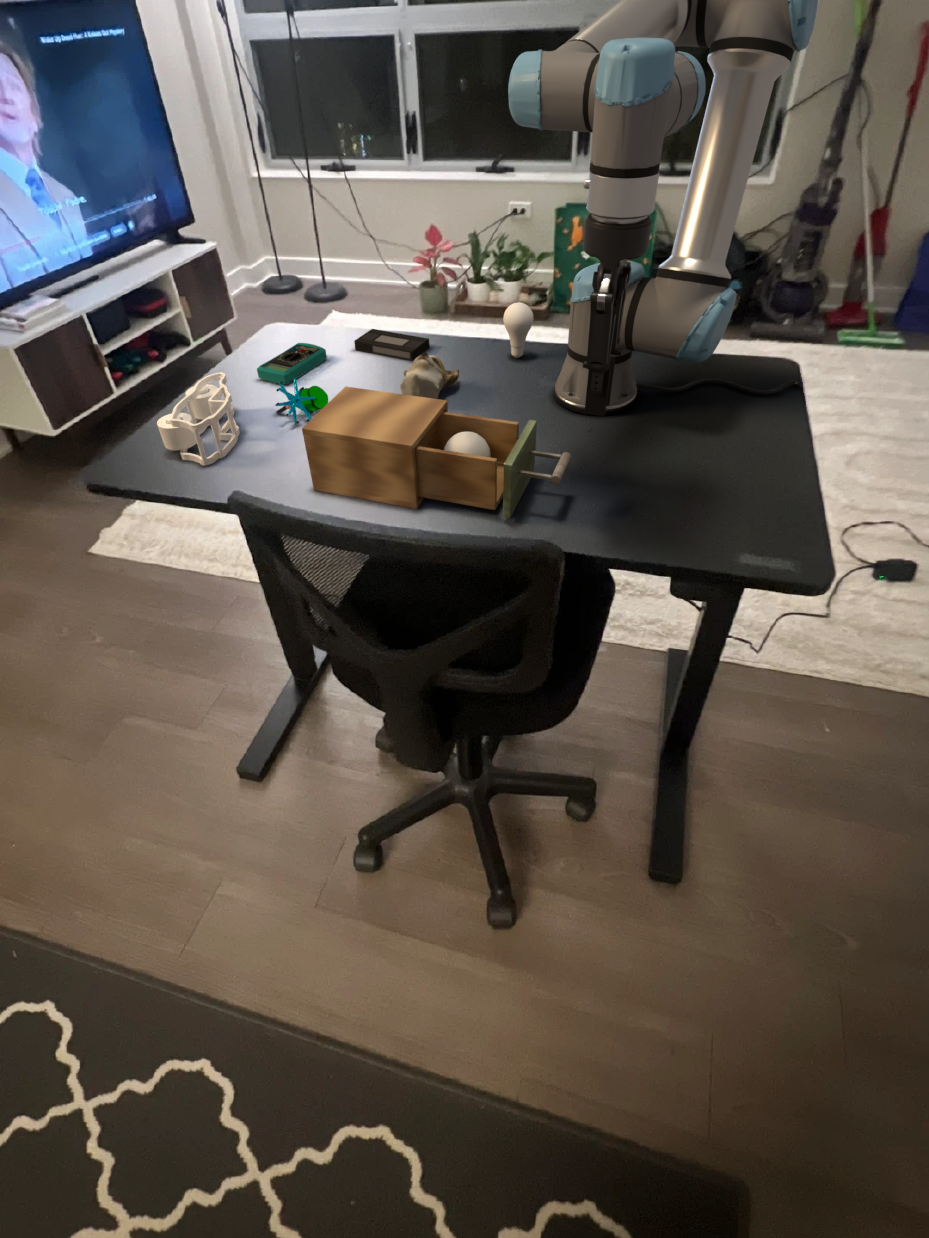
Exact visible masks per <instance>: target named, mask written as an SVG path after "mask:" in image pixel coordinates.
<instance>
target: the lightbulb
mask: <svg viewBox="0 0 929 1238" xmlns="http://www.w3.org/2000/svg"><path fill="white" fill-rule="evenodd" d="M502 322H503V325H504V328H505V330H506V332H507V334H508V337H509V345H510V354H511V356H512V357H514V358H516V359H519V358H520V357H522V356H523V355H524V352H525V345H526V340H527V336H528V334H529V332H530V331H531V328H532V326H533V325H534V313H533V310H532V309H531V307H530V306H529V305H528V304H526V303H524V302H519V301H518V302H514V303H511V304H510V305H509V306H508V307H507V308H506V309H505V311H504V313H503V317H502Z"/></svg>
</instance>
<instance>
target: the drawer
mask: <svg viewBox="0 0 929 1238" xmlns="http://www.w3.org/2000/svg"><path fill="white" fill-rule="evenodd" d="M537 426H538V420H534V419H529V420H528V421H527V423H526V425H525V426H524V428H523V430H522V432H521V434H520V435H519V433H520V421H513V420H508V419H507V420H506V419H499V418H493V417H492V418H491V417H487V416H486V417H485V416H478V415H470V414H463V413H457V412H450V411H448V412H444V411H443V412H442V414H441V415H440V416H439V417H438V419H437V420H436V421H435V423H434V424H433V425H432V426H431V428H430V429H429V430H428V432H427V433H426V434H425V436H424V437H423V438H422V439H421V441H420V442H419V443H418V445H417V446H416V447H415V448H414V449H415V461H416V474H417V487H418V496H419V497H424V499H430V500H436V501H441V502H449V503H452V504H458V505H459V504H460V505H464V506H470V507H475V508H481V509H485V510H486V509H487V510H494V511H495V510H497V507H498V506H499V504H500V502H501V501H502V517H503V518H508V519H511V517H512V516H513V514H514V511H516V508H517V506H518V504H519V502H520V500H521V498H522V496H523V494H524V492H525V491H526V488H527V486H528V485H529V483H530V481H531V479H540V480H546V481H550V483H551V484H553V485H554V486H555V485H556V486H557V485H559V484H560V483H561V482H562V479H563V478H564V475H565V473H566V470H567V469H568V467H569V463H570V462H571V460H572V454H571V453H570V452H568V451H564V452H563V453H561V454H560V453H555V452H554V453H553V452H546V451H541V450H536V446H537V445H536V444H537V428H538V427H537ZM460 432H474V433H477V434H478V435H480V436H481V437H482V438H484V439H485V441H486V442H487V444H488V446H489V448H490V453H491V458H490V457H484V456H477V455H471V454H465V453H458V452H452V451H446V450H444V448H445V446H446V444H447V442H448V440H449V439H450V438H451V437H453V436H454V435H455V434H457V433H460ZM536 457H539V458H547V459H553V460H558V461H557V464H556V466H555V468H554V469H553V472H552V474H548V473H542V472H536V471H535V466H536V465H535V464H536ZM497 462H501V463H497Z"/></svg>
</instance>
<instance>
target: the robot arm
mask: <svg viewBox="0 0 929 1238" xmlns="http://www.w3.org/2000/svg"><path fill="white" fill-rule="evenodd" d="M818 5H819V0H618V1H617V2H615V3H614V4H612V5H611V6H610V7H609V8H608V9H607V10H605V11H604V12H602V14H600V15H599V16H598V17H596V18H595V19H594V20H593V21H591V22H590V23H589V24H587V25H586V26H585V27H584V28H582V29H580V30H579V32H577V33H576V34H574V35H573V36H572V37H571V38H569V39H568V40H567V41H565V42H564V43H563V44H561V46H559V47H558V48H556V49H554V50H549V51H548V50H544V49H538V50H533V51H524V52H522V53H520V54H519V55H518V56H517V57H516V59H515V61H514V63H513V65H512V68H511V70H510V74H509V79H508V88H507V93H508V108H509V112H510V115H511V117H512V119H513V121H514V122H515V123H516V124H517V125H518V126H520V127H522V128H523V127H524V128H531V129H538V130H539V131H540V132H541V131H545V130H546V131H559V132H561V131H564V132H577V133H578V132H579V133H591V134H592V136H591V150H590V163H589V168H588V170H589V175H588V176H589V177H588V178H585V179H584V180H583V182H582V187H583V188H584V189H585V190H588V193H587V196H586V197H587V198H586V210H587V212H588V213H589V214H588V215H587V216H586V218H585V219H584V227H583V228H584V229H583V240H582V241H583V242H582V249H583V252H584V253H585V254H586V255H587V256H589V257H591V258H596V259H597V260H598V261H599V263H595V264H592V265H589V266H586V267H584V268H582V269H581V270H579V271H578V273H576V275H575V277H574V278H573V282H572V283H573V284H572V290H571V297H570V299H569V302H570V309H569V323H568V338H567V351H566V352H567V353H566V357H565V359H564V361H563V364H562V367H561V368H560V370H559V372H558V374H557V379H556V381H555V384H554V394H553V395H554V400H555V401H556V402H557V404H559V406H561V407H563V408H564V409H566V410H568V411H571V412H574V413H578V414H582V415H588V416H589V415H590V416H599V417H605V416H607V415H608V416H609V415H614V414H618V413H622V412H625V411H627V410H629V409H631V407H632V406H634V405H635V403H636V400H637V394H638V389H642V390H650V391H657V392H662V393H669V394H670V393H671V394H672V393H679V392H683V391H687V390H688V389H692V388H693V387H694V388H695V387H696V386H699V385H702V384H703V385H704V384H718V385H723V386H727V387H731V388H733V389H737V390H739V391H742V392H745V393H750V394H753V395H760V396H770V395H774V394H777V393H779V392H781V391H783V390H784V389H786V388H788V387H790V386H795V387H796V388H799V389H801V388H803V385H802V384H801V382H799V383H797V384H795V383H796V382H797V381H798V380H796V379H791V380H787V381H786V382H784V383H783V384H781V385H779V386H777V387H775V388H772V389H766V391H765V389H756V388H751V387H747V386H745V385H741V384H739V383H736V382H732V381H730V380H726V379H721V378H702V379H698V380H694V381H691V382H689V383H687V384H685V385H681V386H678V387H664V386H661V385H654V384H646V383H637V382H636V376H635V371H634V364H633V359H632V357H633V352H638V353H643V354H648V355H653V356H658V357H664V358H669V359H674V360H676V361H677V362H680V361H683V362H684V361H685V362H692V363H703V362H705V361H706V360H708V359H709V358H710V357H711V356H712V355H713V354H714V353H715V351H716V349H717V347H718V346H719V344H720V342H721V341H722V338H723V337H724V334H725V333H726V330H727V327H728V326H729V324H730V321H731V318H732V315H733V312H734V308H735V304H736V301H737V292H736V290H734V289H733V288H732V287H729V286H730V283H731V279H732V275H731V273H730V272H729V269H728V268H727V267H726V260H727V258H728V254H729V251H730V250H729V249H730V246H731V243H732V239H733V235H734V231H735V228H736V225H737V220H738V216H739V214H740V209H741V206H742V203H743V202H742V201H743V198H744V195H745V191H746V188H747V183H748V180H749V177H750V173H751V170H752V166H753V161H754V158H755V154H756V152H757V148H758V144H759V141H760V135H761V132H762V130H763V129H762V128H763V126H764V125H763V124H764V121H765V117H766V114H767V110H768V107H769V102H770V99H771V96H772V91H773V88H774V85H775V81H777V80H778V78H779V77H781V75H783V74H784V73H786V71H788V70H790V67H791V64H792V61H793V56H794V53H795V51H796V53H798V52H799V53H800V52H801V51H803V50H805V49H807V47H808V46H809V44H810V41H811V36H812V34H813V31H814V26H815V22H816V17H817V12H818ZM676 47H690V48H700V49H701V48H703V49H709V50H708V55H707V58H706V59H707V60H706V62H707V63H708V65H709V67H710V69H711V70H712V73H713V78H712V83H711V88H710V90H709V96H708V100H707V104H706V108H705V111H704V112H705V113H704V115H703V116H704V117H703V121H702V125H701V129H700V133H699V137H698V141H697V145H696V150H695V154H694V158H693V162H692V167H691V169H690V175H689V179H688V184H687V188H686V192H685V195H684V199H683V204H682V209H681V213H680V217H679V219H678V225H677V228H676V233H675V237H674V241H673V246H672V249H671V253H670V256H669V257H668V258H667V259H666V260H664V261H663V262H662V263H661V264H659V265H658V268H657V272H656V277H648V276H645V274H646V271H645V268H644V265H643V264H642V263H639V262H637V261H634V260H635V259H638V258H641V257H643V256H644V255H646V253H648V250H649V246H650V239H651V230H652V224H653V220H652V218H651V217H650V215H651V214H653V212H655V207H656V199H657V193H658V186H659V179H660V165H661V158H662V152H663V146H664V139H665V138H666V137H668V136H672V135H673V134H677V133H678V132H680V131H682V129H684V128H685V127H686V126H687V124H689V123H690V122H691V121H692V120H693V119H694V118H695V117H696V116H697V114H698V113H699V111H700V109H701V107H702V105H703V102H704V99H705V95H706V88H707V87H706V86H707V85H706V76H705V71H704V69H703V67H702V65H701V63H700V62H699V60H698V58H696V57H695V56H693V54H690V53H688V52H684V51H680V50H678V51H676ZM792 384H793V385H792ZM781 389H782V390H781Z"/></svg>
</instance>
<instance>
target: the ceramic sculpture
mask: <svg viewBox="0 0 929 1238" xmlns="http://www.w3.org/2000/svg"><path fill="white" fill-rule="evenodd" d="M403 376H404V378H403V379H402V381H401V383H400V385H399V388H400V391H401V394H404V395H411V396H418V397H426V398H433V399H439V396H440V392H441V390H442V389H446V388H449V387H452V386H453V385H455V384H456V383H457V381H458V380H459V378H460V369H456V370H453V371H452V370H447V369H446V368H445V366H444V363H443V361H442V360H441V359H440V358H439V357H438V356H436V355H433V354H428V353H427V352H426V351H424V352H423V353H421V354H420V355H419V356H418V357H417V358H415V359H414V360H413V361H412V363H411V365H410V366H409V367H408V369H407V370H404V372H403Z"/></svg>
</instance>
